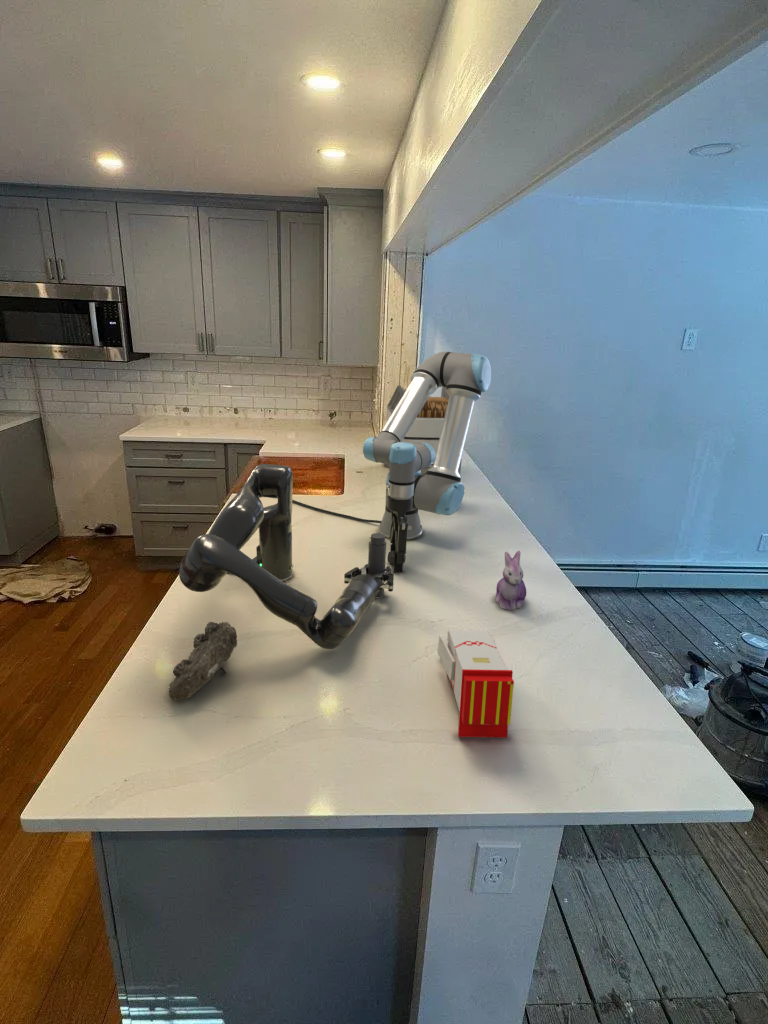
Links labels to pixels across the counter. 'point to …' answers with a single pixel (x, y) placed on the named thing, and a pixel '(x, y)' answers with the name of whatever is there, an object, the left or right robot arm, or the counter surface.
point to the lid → (391, 557)
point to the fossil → (203, 659)
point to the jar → (377, 556)
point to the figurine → (511, 584)
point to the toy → (478, 682)
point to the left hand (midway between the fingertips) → (379, 567)
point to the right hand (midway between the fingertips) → (395, 567)
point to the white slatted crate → (424, 419)
